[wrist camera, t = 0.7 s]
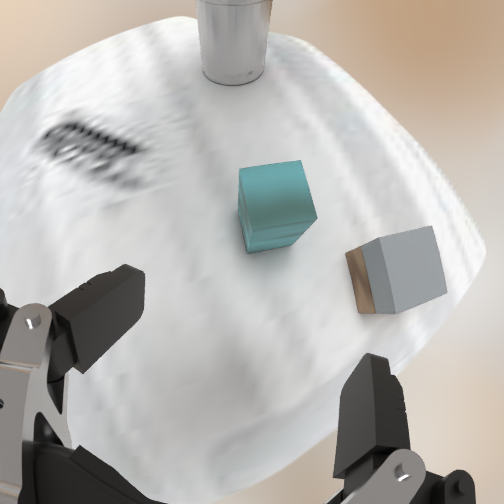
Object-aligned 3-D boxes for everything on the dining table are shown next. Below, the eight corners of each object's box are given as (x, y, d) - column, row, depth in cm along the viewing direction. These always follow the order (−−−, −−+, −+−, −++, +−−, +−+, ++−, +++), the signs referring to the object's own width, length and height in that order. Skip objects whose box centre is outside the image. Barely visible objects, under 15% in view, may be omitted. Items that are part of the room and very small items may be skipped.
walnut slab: (345, 253, 31) (359, 246, 27) (393, 242, 31) (410, 235, 27) (358, 312, 30) (374, 313, 26) (405, 297, 30) (424, 295, 26)
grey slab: (360, 246, 27) (378, 237, 23) (411, 234, 27) (431, 225, 23) (375, 313, 26) (396, 314, 22) (425, 294, 26) (447, 292, 22)
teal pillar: (238, 209, 31) (239, 168, 21) (281, 202, 31) (300, 160, 21) (247, 253, 30) (252, 230, 20) (292, 244, 30) (317, 218, 20)
